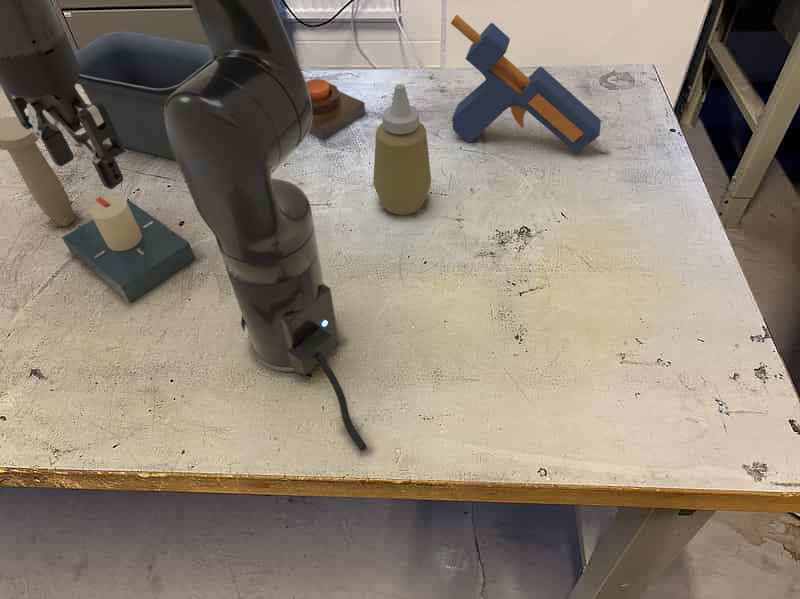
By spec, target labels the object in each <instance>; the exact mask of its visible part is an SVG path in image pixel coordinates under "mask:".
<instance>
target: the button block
mask: <svg viewBox="0 0 800 599" xmlns="http://www.w3.org/2000/svg"><path fill="white" fill-rule="evenodd" d="M328 83H329V88H330V97H329V98H327V99H325V100H322V101H317V102H316V101H311V104H312V124H311V128H310V130H309V132H308V134H310V135H312V136H314V137H317V138H318V139H321V140H322V141H325V140H327V139H329V138H330V137H332V136H333V135H334V134H336V133H338V132H340V131H341V130H342V129H344V128H346V127H347V126H349V125H350V124H352V123H354V122H355V121H357V120H358V119H359V118H361V117H362V116H364V115H366V104H365V102H364V101H363V100H360V99H357V98H356V97H353V96H351V95H348V94H346V93H344V92H342V91H340V90H339V89H338V87H337V85H334V84H332V83H330V82H328Z"/></svg>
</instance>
